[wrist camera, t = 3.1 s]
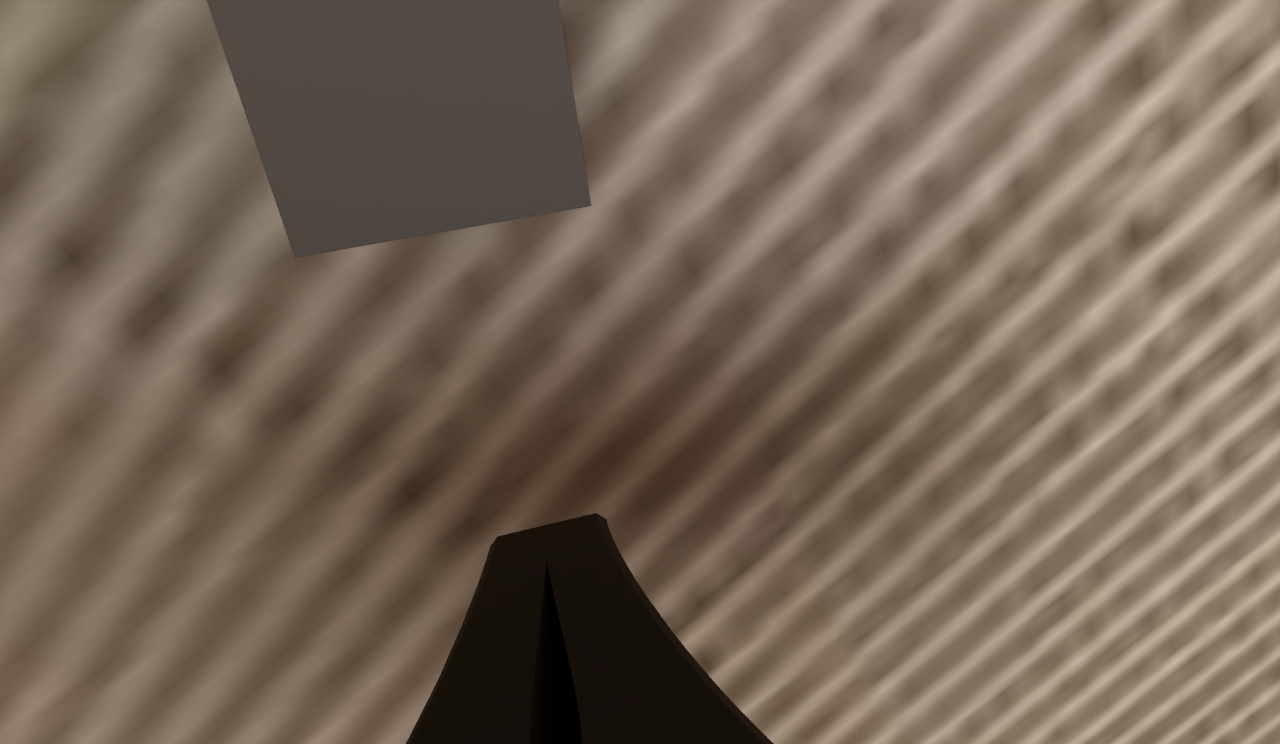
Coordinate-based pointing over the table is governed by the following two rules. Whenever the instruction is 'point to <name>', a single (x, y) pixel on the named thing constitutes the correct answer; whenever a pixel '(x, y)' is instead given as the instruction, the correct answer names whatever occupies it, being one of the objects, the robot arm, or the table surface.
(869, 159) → the table surface
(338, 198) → the push rod
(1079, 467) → the table surface
